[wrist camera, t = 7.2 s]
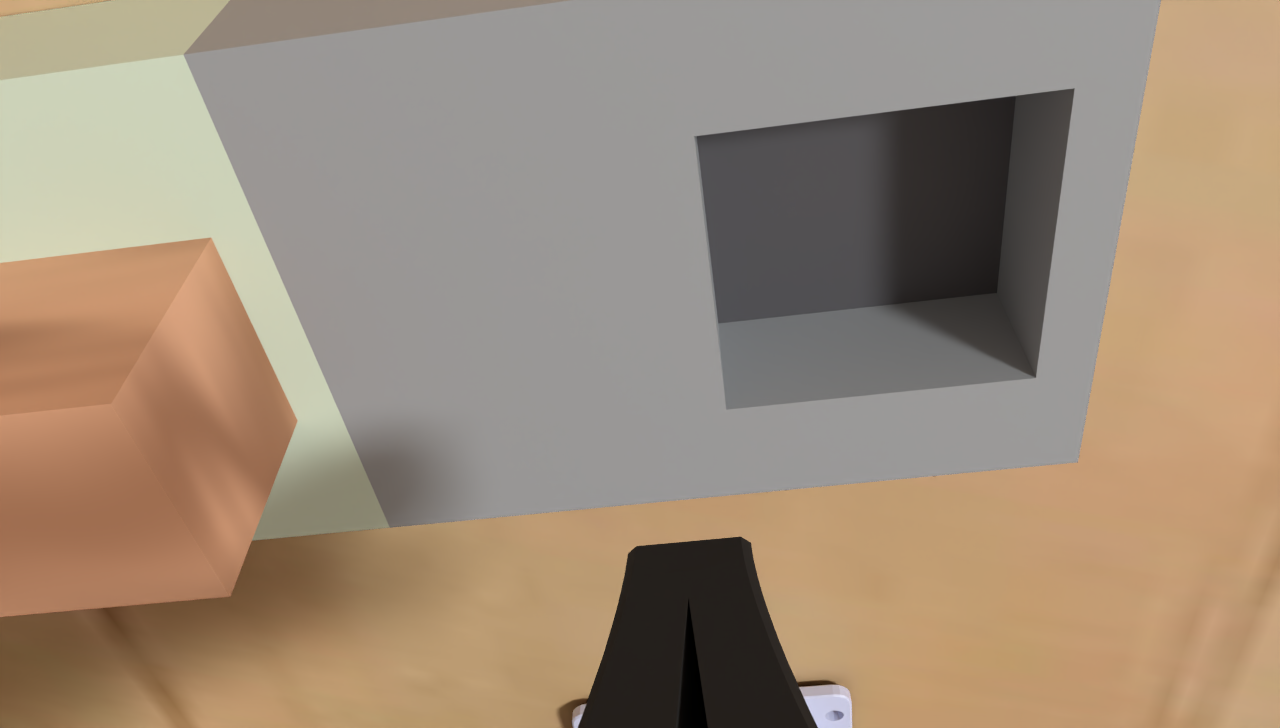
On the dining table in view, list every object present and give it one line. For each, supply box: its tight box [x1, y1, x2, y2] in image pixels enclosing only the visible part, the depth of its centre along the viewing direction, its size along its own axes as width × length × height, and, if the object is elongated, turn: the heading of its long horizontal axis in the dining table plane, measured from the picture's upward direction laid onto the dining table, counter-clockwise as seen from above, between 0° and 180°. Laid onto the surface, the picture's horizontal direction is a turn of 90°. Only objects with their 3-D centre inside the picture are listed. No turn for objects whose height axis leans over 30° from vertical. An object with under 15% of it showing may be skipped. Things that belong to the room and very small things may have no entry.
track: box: [0, 0, 1161, 541], centre depth 19 cm, size 10×26×3 cm, turn 98°
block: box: [0, 238, 298, 617], centre depth 16 cm, size 4×4×4 cm
